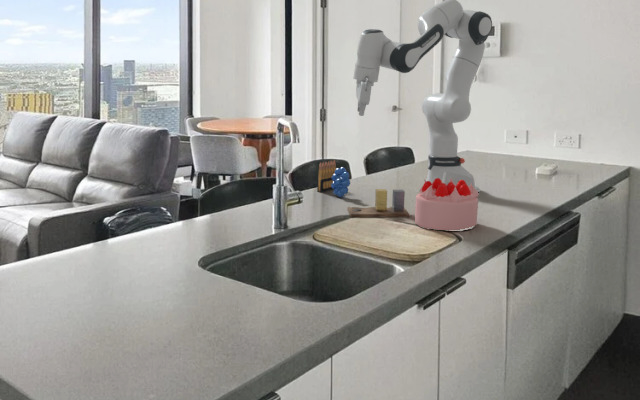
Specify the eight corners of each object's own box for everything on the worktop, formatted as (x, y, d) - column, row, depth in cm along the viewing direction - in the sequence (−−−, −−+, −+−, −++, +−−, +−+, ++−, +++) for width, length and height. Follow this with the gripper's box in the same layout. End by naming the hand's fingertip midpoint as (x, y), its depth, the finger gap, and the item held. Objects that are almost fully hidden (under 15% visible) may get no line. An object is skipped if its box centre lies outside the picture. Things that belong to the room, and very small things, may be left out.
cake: (413, 216, 220) (415, 175, 217) (473, 218, 219) (475, 177, 216) (416, 231, 201) (418, 186, 198) (481, 233, 200) (484, 188, 197)
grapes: (358, 199, 247) (358, 168, 245) (343, 200, 244) (343, 169, 241) (341, 193, 257) (342, 163, 254) (327, 195, 254) (327, 164, 251)
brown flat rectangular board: (403, 209, 230) (403, 206, 230) (409, 216, 220) (409, 213, 219) (347, 209, 229) (347, 206, 229) (350, 217, 219) (350, 213, 218)
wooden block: (385, 208, 226) (385, 189, 225) (386, 210, 223) (387, 191, 221) (375, 208, 226) (375, 189, 225) (376, 210, 223) (377, 191, 221)
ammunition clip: (320, 192, 259) (320, 162, 257) (317, 191, 260) (317, 162, 258) (337, 188, 267) (337, 159, 265) (333, 188, 268) (334, 159, 266)
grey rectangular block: (402, 209, 227) (402, 189, 225) (403, 211, 223) (404, 191, 222) (392, 209, 226) (392, 189, 225) (393, 211, 223) (394, 191, 221)
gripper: (377, 79, 223) (370, 119, 227) (372, 74, 243) (367, 110, 246) (358, 77, 223) (353, 116, 227) (356, 71, 242) (350, 108, 246)
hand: (360, 113), depth 237 cm, fingers open, 8 cm apart
